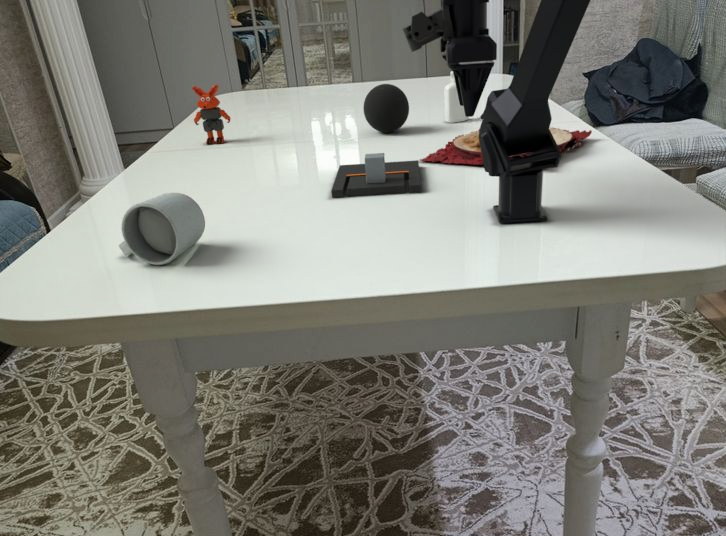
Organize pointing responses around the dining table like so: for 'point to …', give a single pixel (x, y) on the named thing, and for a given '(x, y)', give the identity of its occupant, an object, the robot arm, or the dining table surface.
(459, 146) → the plate with food
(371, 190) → the loose pad
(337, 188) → the dock pad
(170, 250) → the ceramic mug
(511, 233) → the dining table surface
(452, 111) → the eye dropper bottle
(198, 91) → the toy animal
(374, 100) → the dark grey ball
